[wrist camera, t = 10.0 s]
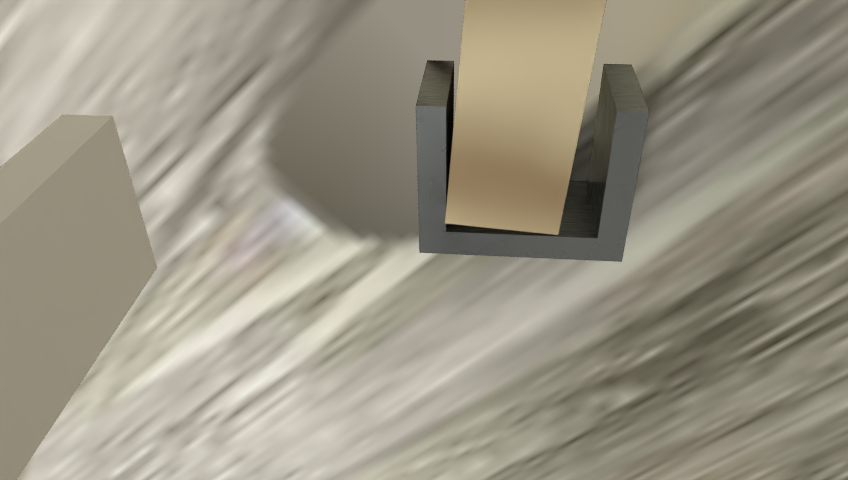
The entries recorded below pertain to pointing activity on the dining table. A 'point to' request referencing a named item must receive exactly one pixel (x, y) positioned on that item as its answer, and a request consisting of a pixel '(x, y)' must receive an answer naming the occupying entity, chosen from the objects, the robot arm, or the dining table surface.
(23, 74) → the dining table surface
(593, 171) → the grey u-channel bracket
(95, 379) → the dining table surface
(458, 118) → the tan long bar
